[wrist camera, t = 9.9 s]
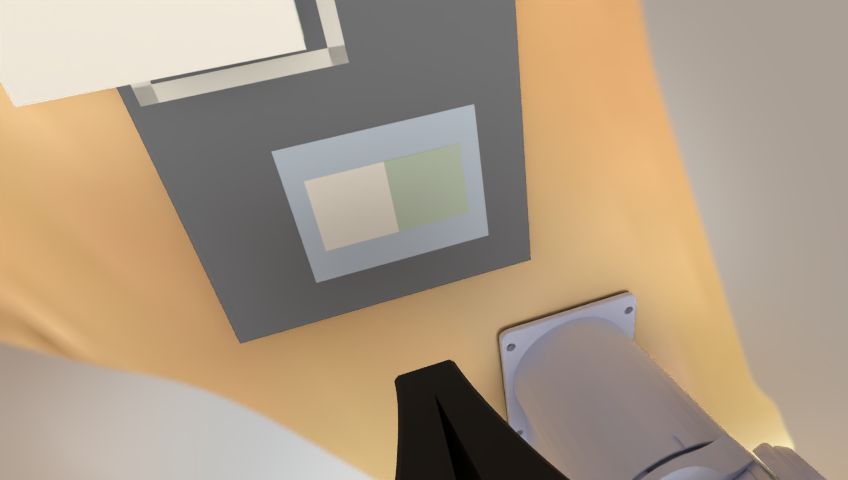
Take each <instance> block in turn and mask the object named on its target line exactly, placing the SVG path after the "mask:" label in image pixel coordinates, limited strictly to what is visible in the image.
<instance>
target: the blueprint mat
mask: <svg viewBox="0 0 848 480" xmlns="http://www.w3.org/2000/svg"><path fill="white" fill-rule="evenodd" d="M294 1H295V5H296V8H297V12H298V16H299V19H300V23H301V27H302V30H303V34H304V38H305V39H304V43H305V47H306V50H301V51H296V52H291V53H286V54H281V55H276V56H271V57H266V58H261V59H256V60H251V61H246V62H241V63H236V64H231V65H226V66H221V67H216V68H211V69H206V70H201V71H195V72H190V73H185V74H180V75H175V76H170V77H165V78H160V79H155V80H150V81H145V82H140V83H135V84H130V85H125V86H120V87H117V89H118V91H119V93H120V95H121V98H122V100H123V102H124V104H125V106H126V108H127V110H128V112H129V114H130V116H131V118H132V120H133V122H134V124H135V127H136V129H137V131H138V133H139V135H140V137H141V139H142V141H143V143H144V145H145V147H146V149H147V151H148V153H149V156H150V158H151V160H152V162H153V164H154V166H155V168H156V170H157V172H158V174H159V176H160V178H161V180H162V183H163V185H164V187H165V189H166V191H167V193H168V195H169V197H170V199H171V201H172V203H173V205H174V207H175V209H176V212H177V214H178V216H179V218H180V220H181V222H182V224H183V226H184V228H185V230H186V232H187V234H188V236H189V239H190V241H191V243H192V245H193V247H194V249H195V251H196V253H197V255H198V257H199V259H200V261H201V263H202V265H203V268H204V270H205V272H206V274H207V276H208V278H209V280H210V282H211V284H212V286H213V288H214V290H215V292H216V295H217V297H218V299H219V301H220V303H221V305H222V307H223V309H224V311H225V313H226V315H227V317H228V319H229V321H230V324H231V326H232V328H233V330H234V332H235V334H236V336H237V338H238V340H239V342H240V343H244V342H247V341H251V340H254V339H258V338H261V337H265V336H268V335H272V334H275V333H278V332H282V331H285V330H289V329H292V328H296V327H299V326H303V325H306V324H310V323H313V322H317V321H320V320H323V319H327V318H330V317H334V316H337V315H341V314H344V313H348V312H351V311H355V310H358V309H362V308H365V307H368V306H372V305H375V304H379V303H382V302H386V301H389V300H393V299H396V298H400V297H403V296H406V295H410V294H413V293H417V292H420V291H424V290H427V289H431V288H434V287H438V286H441V285H445V284H448V283H451V282H455V281H458V280H462V279H465V278H469V277H472V276H476V275H479V274H483V273H486V272H490V271H493V270H496V269H500V268H503V267H507V266H510V265H514V264H517V263H521V262H524V261H528V260H531V256H530V240H529V223H528V206H527V190H526V173H525V156H524V140H523V123H522V106H521V90H520V73H519V56H518V40H517V23H516V6H515V0H294Z"/></svg>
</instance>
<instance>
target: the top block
mask: <svg viewBox="0 0 848 480" xmlns="http://www.w3.org/2000/svg"><path fill="white" fill-rule="evenodd" d="M301 50H306V47H305V43H304V39H303V36H302V32H301V28H300V24H299V21H298V17H297V13H296V9H295V6H294V2H293V0H0V82H1V84H2V86H3V87H4V89H5V91H6V93H7V94H8V96H9V98H10V99H11V101H12V103H13V104H14V106H15V107H19V106H24V105H29V104H34V103H39V102H44V101H49V100H54V99H59V98H64V97H70V96H75V95H80V94H85V93H90V92H95V91H100V90H105V89H110V88H115V87H120V86H125V85H130V84H135V83H140V82H145V81H150V80H155V79H160V78H165V77H170V76H175V75H180V74H185V73H190V72H195V71H201V70H206V69H211V68H216V67H221V66H226V65H231V64H236V63H241V62H246V61H251V60H256V59H261V58H266V57H271V56H276V55H281V54H286V53H291V52H296V51H301Z"/></svg>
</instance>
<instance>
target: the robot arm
mask: <svg viewBox="0 0 848 480" xmlns="http://www.w3.org/2000/svg"><path fill="white" fill-rule="evenodd" d="M636 303H637V299H636V297H635V296H634V295H633V294H632V293H630V292H626V293H622V294H619V295H616V296H613V297H610V298H606V299H603V300H600V301H597V302H593V303H590V304H587V305H584V306H580V307H577V308H574V309H571V310H567V311H564V312H561V313H558V314H555V315H551V316H548V317H545V318H542V319H538V320H535V321H532V322H529V323H525V324H522V325H519V326H516V327H513V328H509V329H506V330H504V331H503V332H502V333H501V334H500V336H499V344H500V353H501V362H502V371H503V380H504V389H505V398H506V407H507V416H508V423H507V422H506V421H505V420H504V419H503V418H502V417H501V416H500V415H499V414H498V413H497V412H496V411H495V410H494V409H493V408H492V407H491V406H490V405H489V404H488V403H487V402H486V401H485V400H484V398H483V397H482V396H481V395H480V394H479V393H478V392H477V390H476V389H475V388H474V387H473V386H472V385H471V383H470V382H469V381H468V380H467V378H466V377H465V376H464V375H463V373H462V372H461V371H460V369H459V368H458V367H457V365H456V364H455V362H453V361H451V360H446V361H443V362H440V363H437V364H434V365H431V366H428V367H424V368H421V369H418V370H415V371H412V372H409V373H406V374H402V375H399V376H398V377H397V378H396V379H395V381H394V382H395V387H396V392H397V402H398V447H397V466H396V477H395V480H826V479H825V478H824V477H823V476H822V475H821V474H820V473H818V472H817V471H816V470H815V469H814V468H813V467H812V466H810V465H809V464H808V463H807V462H806V461H805V460H804V459H802V458H801V457H800V456H799V455H798V454H797V453H795V452H794V451H793V450H792V449H790V448H787V447H780V446H774V447H772V446H771V445H769V444H768V443H762V444H760V445H759V446H758V447H756V448H755V449H754V450H753V452H754V453H755V454H756V456H757V457H758V458H759V459H760V460H761V461H762V462H763V463H764V464H765V465H766V466H767V467H768V468H769V469H770V470H771V471H772V472H773V473H774V474H775V475H776V476H775V475H774V474H773V473H772V472H771V471H770V470H769V469H768V468H767V467H766V466H765V465H764V464H763V463H762V462H760V461H759V460H758V459H757V458H756V457H754V456H753V455H752V454H751V453H750V452H748V451H747V450H746V449H745V448H744V447H743V446H741V445H740V444H739V443H738V442H737V441H735V440H734V439H733V438H732V437H731V436H729V435H728V434H727V433H726V432H725V431H724V430H723V429H722V428H721V427H720V426H719V425H718V424H717V423H716V422H715V421H714V420H713V419H712V418H711V417H710V416H709V415H708V414H707V413H706V412H705V411H704V410H703V409H702V408H701V407H700V406H699V405H698V404H697V403H696V402H695V401H694V400H693V399H692V398H691V397H690V396H689V395H688V394H687V393H686V392H685V391H684V390H683V389H682V388H681V387H680V386H679V385H678V384H677V383H676V382H675V381H674V380H673V379H672V378H671V377H670V376H669V375H668V374H667V373H666V372H665V371H664V370H663V369H662V368H661V367H660V366H659V365H658V364H657V363H656V362H655V361H654V360H653V359H652V358H651V357H650V356H649V355H648V354H647V353H646V352H645V351H644V350H642V349H641V348H640V347H639V346H638V345H637V344H636V343H635V342H634V341H633V340H634V328H635V315H636ZM509 344H511V345H510V346H508V345H509ZM507 346H508V347H507Z"/></svg>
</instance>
